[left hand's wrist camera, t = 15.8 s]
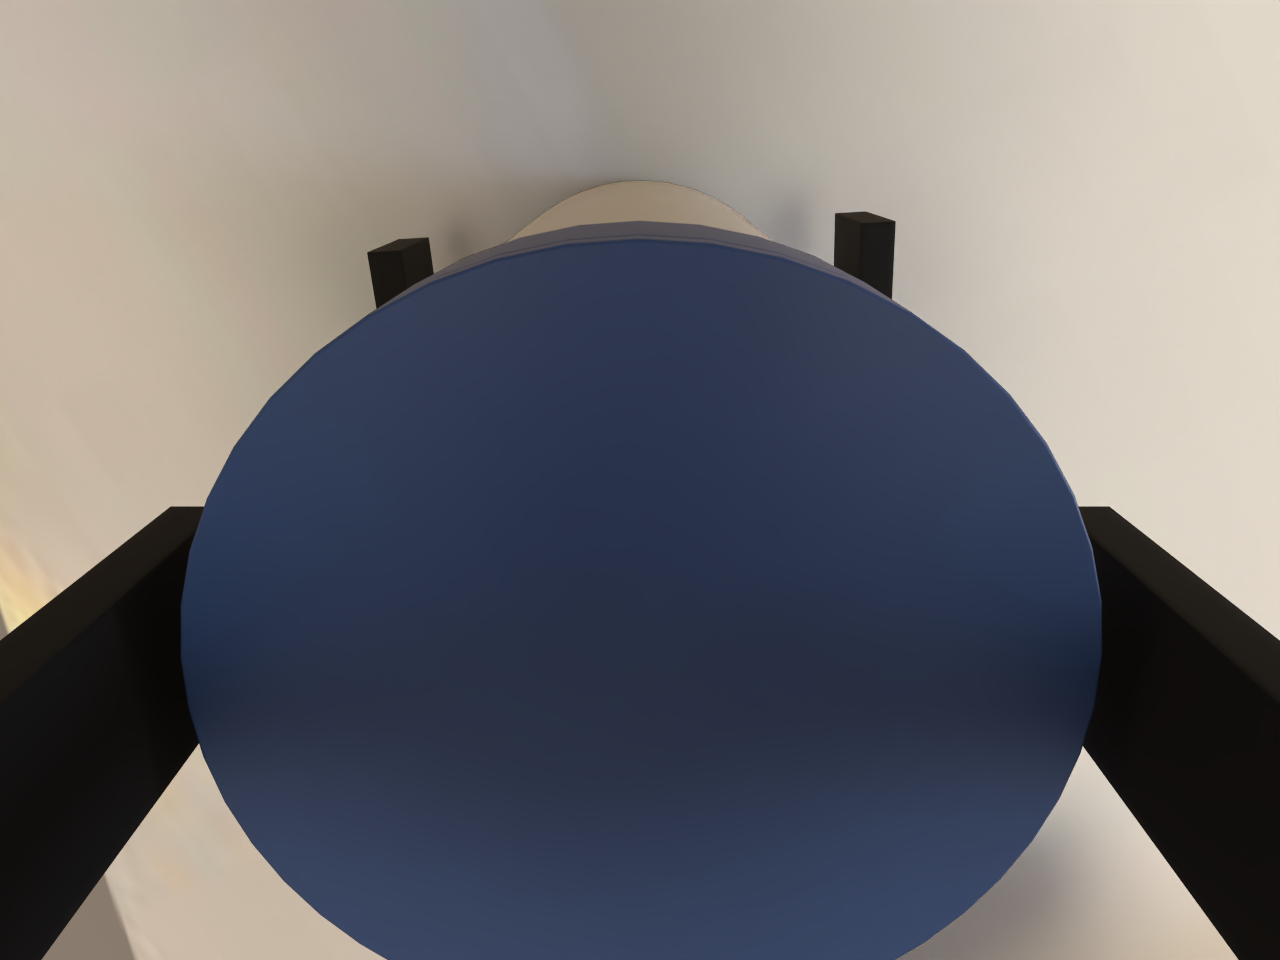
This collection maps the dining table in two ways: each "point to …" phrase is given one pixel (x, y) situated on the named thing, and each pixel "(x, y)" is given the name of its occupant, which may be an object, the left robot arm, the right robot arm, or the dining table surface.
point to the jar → (639, 208)
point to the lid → (641, 613)
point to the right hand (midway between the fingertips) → (630, 230)
